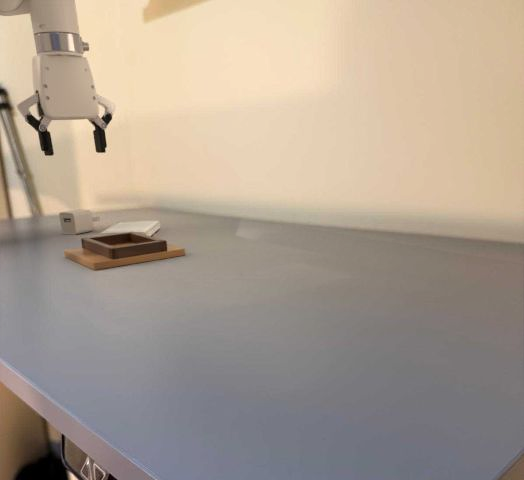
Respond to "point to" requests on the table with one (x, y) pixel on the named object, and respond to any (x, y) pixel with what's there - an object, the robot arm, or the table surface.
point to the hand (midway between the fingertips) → (75, 154)
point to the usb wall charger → (77, 221)
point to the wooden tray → (121, 250)
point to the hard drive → (133, 227)
